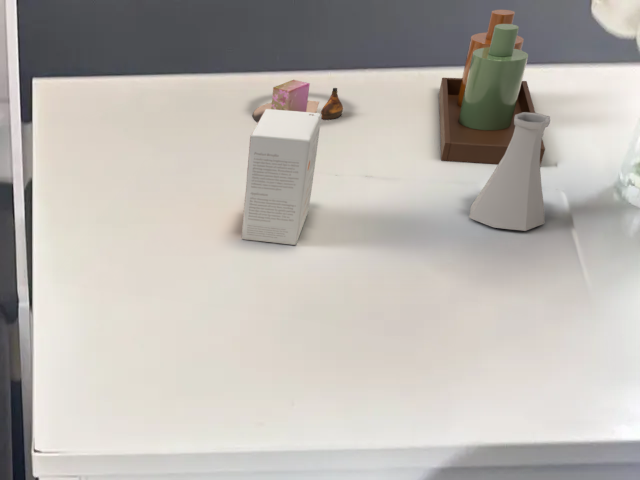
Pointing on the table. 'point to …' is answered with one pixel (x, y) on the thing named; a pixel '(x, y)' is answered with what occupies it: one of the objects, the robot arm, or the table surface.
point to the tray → (473, 142)
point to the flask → (515, 180)
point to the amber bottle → (486, 43)
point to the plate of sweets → (299, 101)
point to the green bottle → (494, 82)
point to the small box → (280, 175)
